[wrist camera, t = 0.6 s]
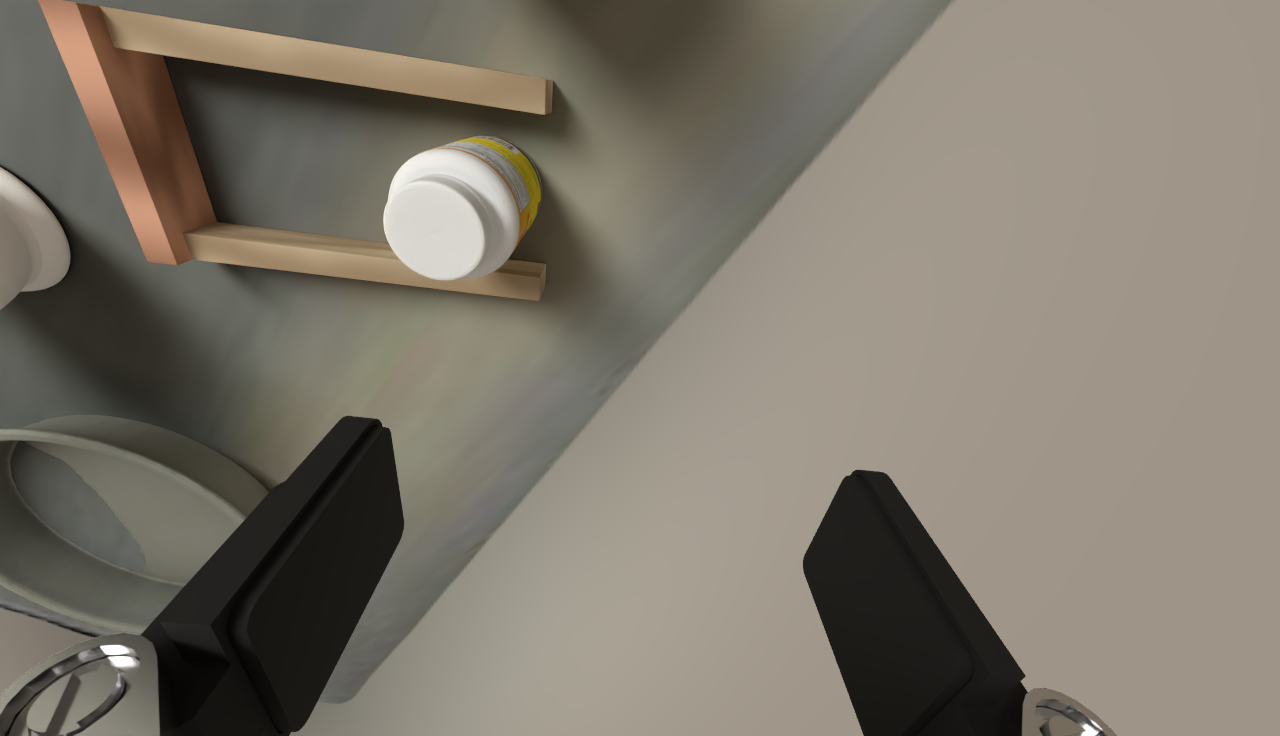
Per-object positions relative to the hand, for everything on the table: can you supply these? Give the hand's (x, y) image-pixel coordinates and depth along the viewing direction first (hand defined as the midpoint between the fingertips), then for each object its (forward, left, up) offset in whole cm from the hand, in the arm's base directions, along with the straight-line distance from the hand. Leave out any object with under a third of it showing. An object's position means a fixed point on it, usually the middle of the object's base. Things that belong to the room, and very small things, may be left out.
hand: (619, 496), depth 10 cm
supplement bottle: (-1, -8, -22) cm, 23 cm away
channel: (-1, -15, -22) cm, 27 cm away
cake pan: (+30, -37, -22) cm, 53 cm away
